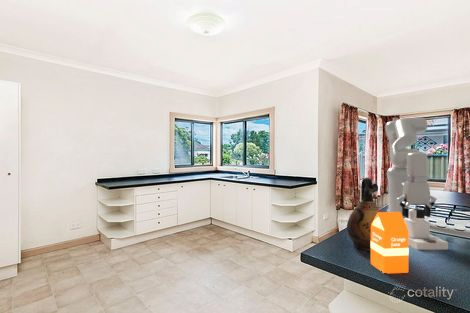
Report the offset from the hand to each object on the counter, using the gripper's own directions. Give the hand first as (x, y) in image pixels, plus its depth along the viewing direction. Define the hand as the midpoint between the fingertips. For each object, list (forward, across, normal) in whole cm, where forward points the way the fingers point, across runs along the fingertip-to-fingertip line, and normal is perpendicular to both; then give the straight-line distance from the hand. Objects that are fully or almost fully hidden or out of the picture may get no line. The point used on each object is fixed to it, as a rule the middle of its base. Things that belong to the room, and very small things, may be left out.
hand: (416, 216), depth 114 cm
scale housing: (+11, 0, +2) cm, 12 cm away
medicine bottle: (+9, 0, 0) cm, 9 cm away
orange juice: (+11, +28, +27) cm, 40 cm away
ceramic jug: (+11, +26, +7) cm, 29 cm away
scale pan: (+10, 0, +1) cm, 10 cm away
